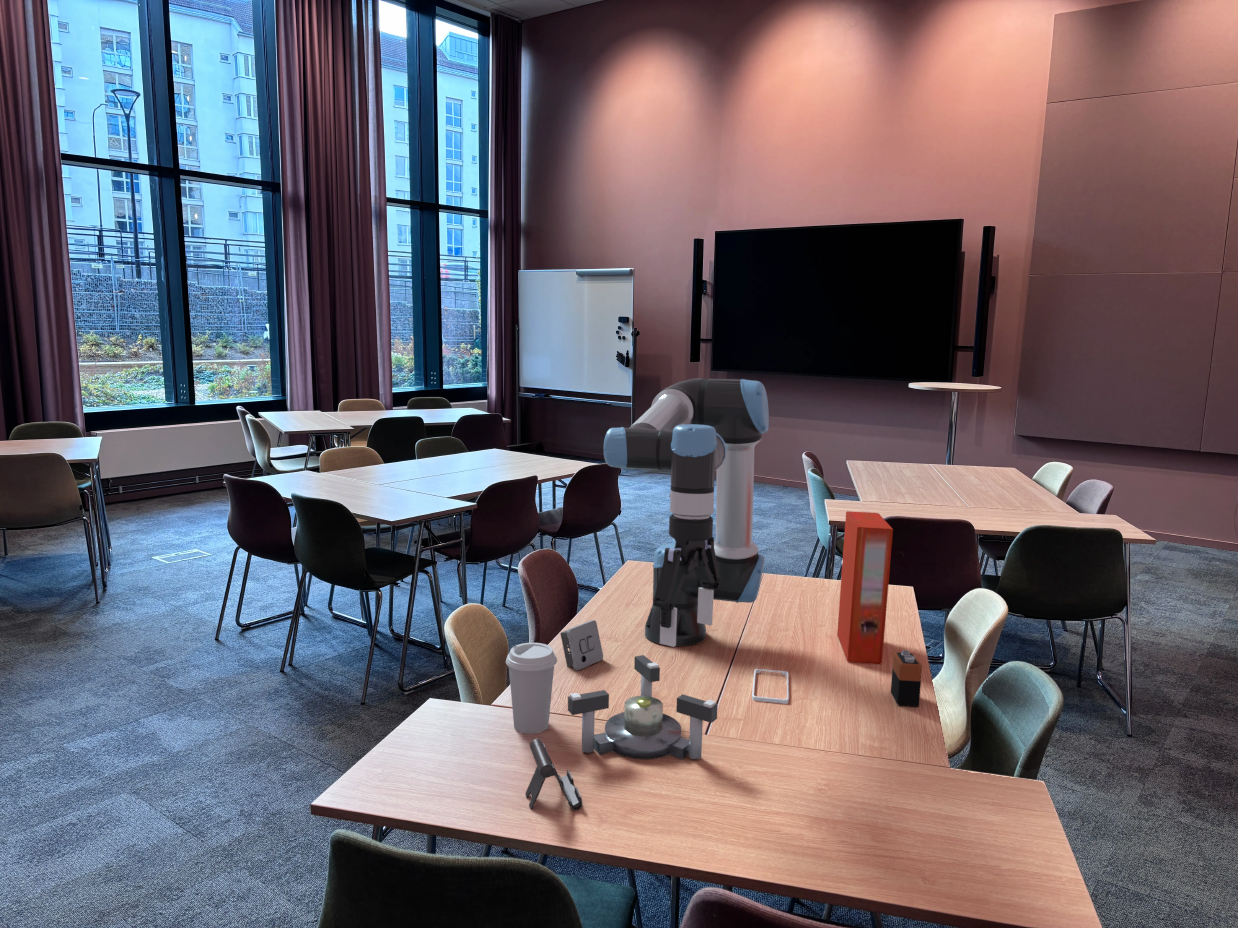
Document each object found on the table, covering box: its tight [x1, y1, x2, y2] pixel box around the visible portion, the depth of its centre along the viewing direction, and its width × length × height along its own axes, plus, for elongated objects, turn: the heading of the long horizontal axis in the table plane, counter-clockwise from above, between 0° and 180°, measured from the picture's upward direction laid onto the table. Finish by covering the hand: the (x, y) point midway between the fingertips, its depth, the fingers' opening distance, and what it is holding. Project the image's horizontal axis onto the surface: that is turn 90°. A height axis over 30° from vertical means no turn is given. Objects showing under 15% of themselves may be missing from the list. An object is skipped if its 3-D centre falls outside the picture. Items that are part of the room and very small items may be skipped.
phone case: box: [751, 668, 790, 705], centre depth 176 cm, size 7×1×15 cm
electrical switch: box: [559, 619, 604, 671], centre depth 187 cm, size 9×5×9 cm, turn 141°
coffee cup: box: [505, 642, 558, 735], centre depth 156 cm, size 10×10×15 cm
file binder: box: [836, 510, 894, 666], centre depth 196 cm, size 8×17×32 cm, turn 173°
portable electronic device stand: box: [525, 738, 583, 812], centre depth 132 cm, size 9×8×8 cm
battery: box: [890, 649, 923, 708], centre depth 171 cm, size 4×7×10 cm, turn 175°
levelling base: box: [594, 695, 689, 760], centre depth 151 cm, size 18×16×8 cm
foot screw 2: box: [633, 654, 661, 697], centre depth 162 cm, size 7×2×11 cm, turn 25°
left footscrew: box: [675, 693, 718, 760], centre depth 145 cm, size 7×2×11 cm, turn 55°
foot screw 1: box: [567, 689, 610, 754], centre depth 147 cm, size 7×2×11 cm, turn 115°
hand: (686, 633), depth 145 cm, fingers open, 13 cm apart
